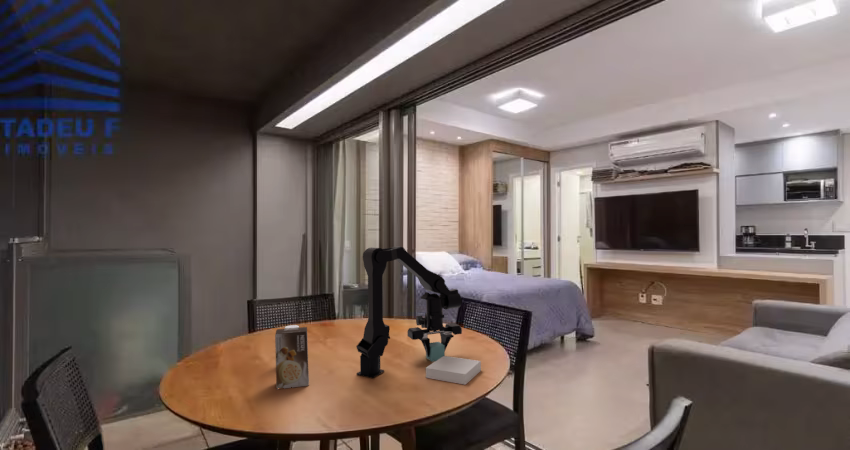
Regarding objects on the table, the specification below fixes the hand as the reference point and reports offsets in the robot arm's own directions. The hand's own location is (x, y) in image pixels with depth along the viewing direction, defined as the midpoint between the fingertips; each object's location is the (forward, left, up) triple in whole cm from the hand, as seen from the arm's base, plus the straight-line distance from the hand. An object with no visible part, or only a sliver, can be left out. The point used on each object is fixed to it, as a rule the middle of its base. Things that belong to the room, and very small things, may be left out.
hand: (435, 355), depth 139 cm
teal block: (0, 0, -1) cm, 1 cm away
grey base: (-11, -12, -1) cm, 16 cm away
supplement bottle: (-26, +42, -1) cm, 49 cm away
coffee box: (-39, +28, -1) cm, 48 cm away
